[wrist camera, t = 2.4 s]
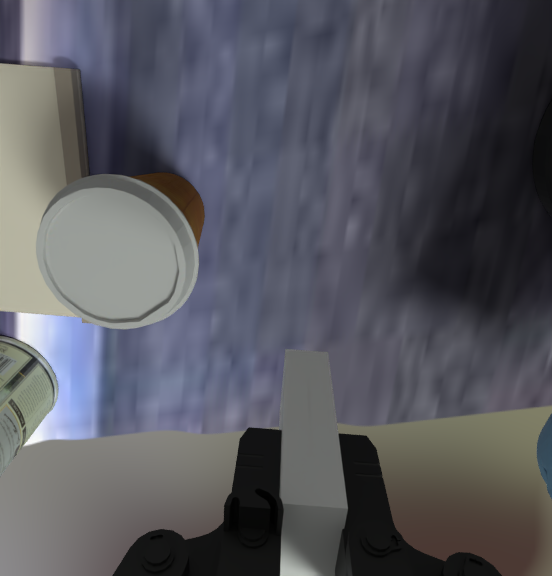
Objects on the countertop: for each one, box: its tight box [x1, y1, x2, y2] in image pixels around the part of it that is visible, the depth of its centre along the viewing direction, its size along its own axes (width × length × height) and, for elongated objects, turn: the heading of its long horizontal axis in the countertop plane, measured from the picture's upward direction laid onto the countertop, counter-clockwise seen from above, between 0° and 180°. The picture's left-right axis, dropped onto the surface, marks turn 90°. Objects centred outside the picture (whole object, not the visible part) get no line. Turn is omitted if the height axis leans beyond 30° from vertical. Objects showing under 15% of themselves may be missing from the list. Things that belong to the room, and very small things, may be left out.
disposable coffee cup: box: [36, 172, 205, 329], centre depth 31 cm, size 10×10×12 cm
